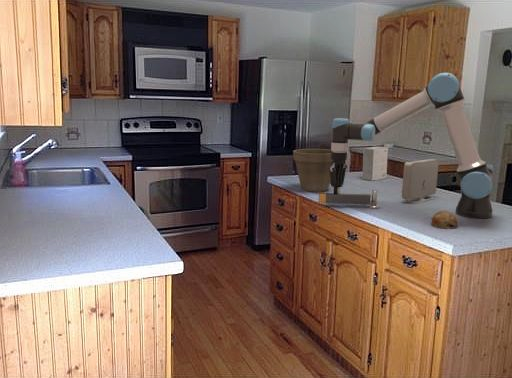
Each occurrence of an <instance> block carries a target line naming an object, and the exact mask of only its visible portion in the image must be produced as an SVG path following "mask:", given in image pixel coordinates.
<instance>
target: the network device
mask: <svg viewBox="0 0 512 378" xmlns="http://www.w3.org/2000/svg"><path fill="white" fill-rule="evenodd" d="M439 163H440V162H439V159H434V158H427V159H422V160H421V159H420V160H415V161H414V160H413V161H406V162H405V163H404V165H403V174H402V175H403V177H402V187H401V198H402V202H405V203H409V204H410V203H411V204H421V203H425V202H429V201H433V200H434V199H435V197H433V196H432V195H436V192H437V185H438V184H437V183H438V175H439V165H440V164H439ZM426 198H427V199H426ZM413 200H415V201H413Z"/></svg>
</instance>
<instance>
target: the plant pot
mask: <svg viewBox="0 0 512 378" xmlns="http://www.w3.org/2000/svg"><path fill="white" fill-rule="evenodd" d="M331 152H332V150H331V149H327V148H326V149H325V148H324V149H323V148H301V149H294V150H292V155H293V156H292V158H293V160H294V161H295V167H296V171H297V174H298V175H297V176H298V179H299V183H300V188H301V189H302V190H303V191H305V192H313V193H316V192H317V193H323V192H326V191H328V190H329V187H330V186H331V183H330V181H331V179H330V171H329V167H332V163H333V160H331Z"/></svg>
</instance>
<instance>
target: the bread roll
mask: <svg viewBox="0 0 512 378" xmlns="http://www.w3.org/2000/svg"><path fill="white" fill-rule="evenodd" d="M430 220H431V225H432V226H433V227H435V226H436V228H438V227H439V228H438V229H446V230H450V229H451V230H452V229H456V228H457V227H458V226H459V225H458V223H459V222H458V218H457V217H456V215H454V214H453V212H450V211H446V210H442V211H438V212H437V213H435V214H433V216H431V218H430Z"/></svg>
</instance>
